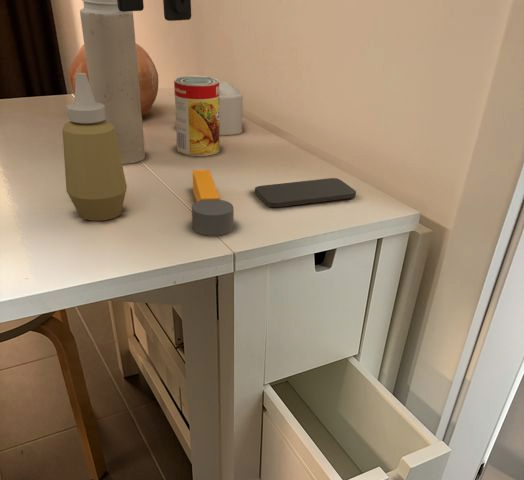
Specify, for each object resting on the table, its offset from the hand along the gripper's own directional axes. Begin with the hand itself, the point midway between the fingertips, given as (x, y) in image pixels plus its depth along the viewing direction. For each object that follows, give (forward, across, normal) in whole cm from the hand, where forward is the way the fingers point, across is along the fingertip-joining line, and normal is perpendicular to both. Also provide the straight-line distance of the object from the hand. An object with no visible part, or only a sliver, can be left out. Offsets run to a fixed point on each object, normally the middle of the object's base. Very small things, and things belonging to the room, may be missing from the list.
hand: (153, 15), depth 63 cm
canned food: (+25, -23, +22) cm, 41 cm away
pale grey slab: (+25, -34, +33) cm, 53 cm away
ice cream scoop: (+25, +1, +6) cm, 25 cm away
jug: (+25, -52, +22) cm, 62 cm away
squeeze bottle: (+25, -7, -7) cm, 27 cm away
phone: (+25, +5, +22) cm, 34 cm away
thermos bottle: (+25, -27, +8) cm, 38 cm away
